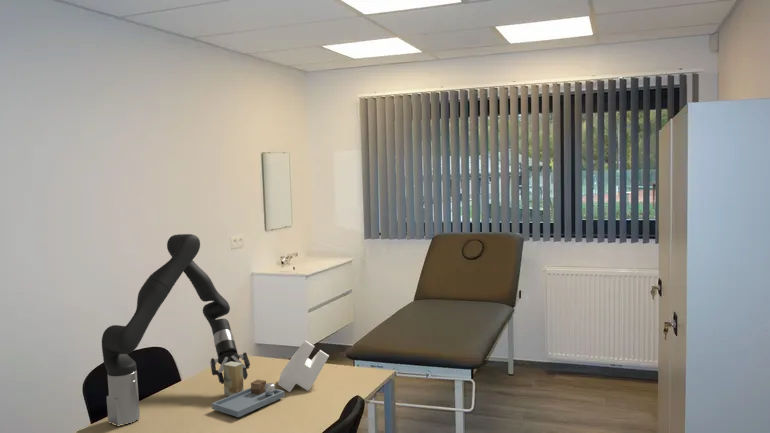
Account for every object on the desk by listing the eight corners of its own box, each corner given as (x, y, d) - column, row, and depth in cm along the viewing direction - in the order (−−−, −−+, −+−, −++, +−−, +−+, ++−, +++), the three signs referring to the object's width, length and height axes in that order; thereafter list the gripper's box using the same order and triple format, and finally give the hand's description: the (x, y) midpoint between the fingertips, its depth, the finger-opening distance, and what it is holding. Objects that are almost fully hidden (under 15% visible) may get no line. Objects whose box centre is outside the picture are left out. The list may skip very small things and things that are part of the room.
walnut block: (260, 394, 222) (259, 384, 222) (251, 393, 224) (250, 382, 224) (266, 391, 226) (266, 380, 225) (258, 389, 228) (257, 379, 227)
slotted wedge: (301, 399, 230) (328, 361, 229) (277, 384, 228) (304, 345, 228) (303, 387, 243) (329, 350, 243) (281, 372, 242) (306, 336, 242)
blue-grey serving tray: (238, 420, 204) (237, 411, 204) (212, 411, 212) (211, 403, 212) (284, 399, 222) (284, 391, 222) (259, 391, 230) (258, 384, 230)
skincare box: (223, 395, 228) (222, 364, 227) (231, 391, 231) (230, 360, 231) (236, 398, 225) (235, 366, 224) (244, 394, 228) (243, 362, 228)
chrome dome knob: (269, 397, 219) (269, 387, 219) (263, 395, 221) (262, 385, 221) (277, 394, 222) (276, 384, 221) (270, 392, 224) (269, 382, 224)
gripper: (207, 342, 230) (216, 379, 221) (244, 335, 237) (254, 372, 228) (205, 352, 235) (214, 389, 226) (241, 345, 242) (251, 381, 233)
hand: (234, 380), depth 227 cm, fingers open, 8 cm apart
